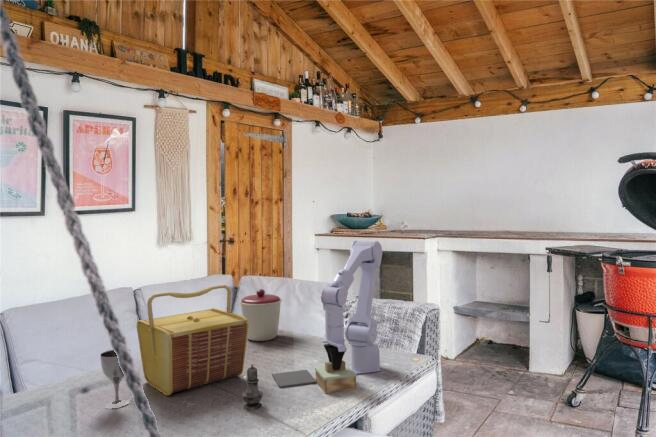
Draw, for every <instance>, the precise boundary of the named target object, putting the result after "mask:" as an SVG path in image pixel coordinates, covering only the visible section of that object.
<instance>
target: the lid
mask: <svg viewBox="0 0 656 437" xmlns="http://www.w3.org/2000/svg"><path fill="white" fill-rule="evenodd" d="M349 366H350V365H348V364H347V363H346V361H344V360H343V359H342V363H341V368H340V370H333V367H332V362H329V361H326V362H324V365H322V366H315V367H314V371H315V373H316V372H317V373H318V374H319V375H320V376H321V377H322V378H323V379H324V380H332V379H339V378H347V377H355V376H356V377H357V376H358V374H357V373H356V372H354V371H353V370H352V369H351V368H350V367H349Z"/></svg>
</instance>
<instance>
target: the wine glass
mask: <svg viewBox="0 0 656 437" xmlns="http://www.w3.org/2000/svg"><path fill="white" fill-rule="evenodd" d="M128 350H129V351H130V352H131V349H128ZM100 365H101V370H102V373H103V375H104V376H105V377H106V378H107V379H108V380H109V381H111V383H112V384H113V387H114V388H113V389H114V393H115V394H114V395H115V397H114V398H115V399H114V400H115V401H113V400H112V401H113V402H112V404H117V403H120V402H121V401H122V400H119V399H120V398H119V388H120V384H121V381H122V379H124V377H125V376H124V374H123V372H122V370H121V368H120V366H119V363H118V358H117V355H116V353H115V352H114V349H109V350H106V351H103V352H102V353H100Z"/></svg>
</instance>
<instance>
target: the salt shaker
mask: <svg viewBox="0 0 656 437" xmlns="http://www.w3.org/2000/svg"><path fill="white" fill-rule="evenodd" d="M246 378H247V379H246V380H245V382H246V387H247V388H246V390H245V391H244V392H243V393H241V394H242V395H241V396H242V397H243V401H244V402H245V404H244V405H243V409H244V410H247V411H255V410H259V409H261V408H262V407H263V403H262V402H261V401H262V398H263V396H264V392H263V391H262V390H259V381H260V380H259V378H258V368H257V367H255V366H254V364H250V367H248V368H247V370H246Z"/></svg>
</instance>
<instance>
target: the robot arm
mask: <svg viewBox="0 0 656 437" xmlns="http://www.w3.org/2000/svg"><path fill="white" fill-rule="evenodd" d="M349 254H350V255H349V257H348V260H347V262H346V263H345V265H344V268H343V269H340V270H338V271H337V272H336V274H335V276H334V278H333V280H332V281H331V282H330V284H329V285H328V286H326V287H325V288H323V290H322V292H321V296H320V300H321V303H322V308H323V310H324V316H325V317H324V320H325V321H324V326H325V327H324V328H325V333H324V339H321V342H322V343H323V347H324V350H325V352H326V355H327V357H328V362H332V367H333V370H340V368H341V363H342V360H343V358H344V356H345V355H346V354H345V353H346V352H347V347H346V344H345V341H347V342H348V345H350V365H348V366H349V367H350V368H351V369H352V370H353V371H354V372H356V373H357V375H359V374H360V375H361V374H367V373H374V372H381V370H382V369H381V367H380V364H381V363H380V362H381V361H380V359H381V358H380V348H379V345H378V343H377V342H376V341H377V338H378V337H377V336H378V331H377V329H378V328H377V326H378V324H377V322H376V320H374V318H373V317H372V316H371V314H372V313H371V312H372V308H373V306H372V305H373V300H374V293H375V286H376V278H377V274H378V273H377V272H378V268H380V267H381V263H382V257H383V248H382V245H381V242H379V241H378V240H375V241H368V240H367V241H366V240H365V241H363V240H359V241H358V240H353V241H352V243H351V244H350V247H349ZM359 267H360V268H361V277H360V284H359V290H358V295H357V303H356V309H355V314H353V315H352V316H351V317H349V318H348V321H347V325H346V327H345V326H344V325H345V324H344V305H345V304H346V303H347V299H348V295H349V289H350V288H351V286H352V284H353V282H354V280H355V276H354V274H355V273H356V271H357V270H358V269H359ZM344 328H345V329H344ZM345 339H346V340H345Z"/></svg>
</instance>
